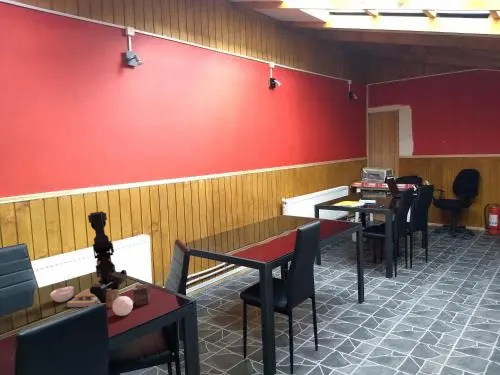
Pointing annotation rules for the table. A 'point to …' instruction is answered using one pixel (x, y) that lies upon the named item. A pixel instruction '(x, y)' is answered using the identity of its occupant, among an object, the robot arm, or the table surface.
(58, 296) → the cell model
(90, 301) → the dock
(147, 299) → the box
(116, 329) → the table surface
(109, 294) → the crate
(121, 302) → the pale pink ovoid
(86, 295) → the pallet
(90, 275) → the table surface
